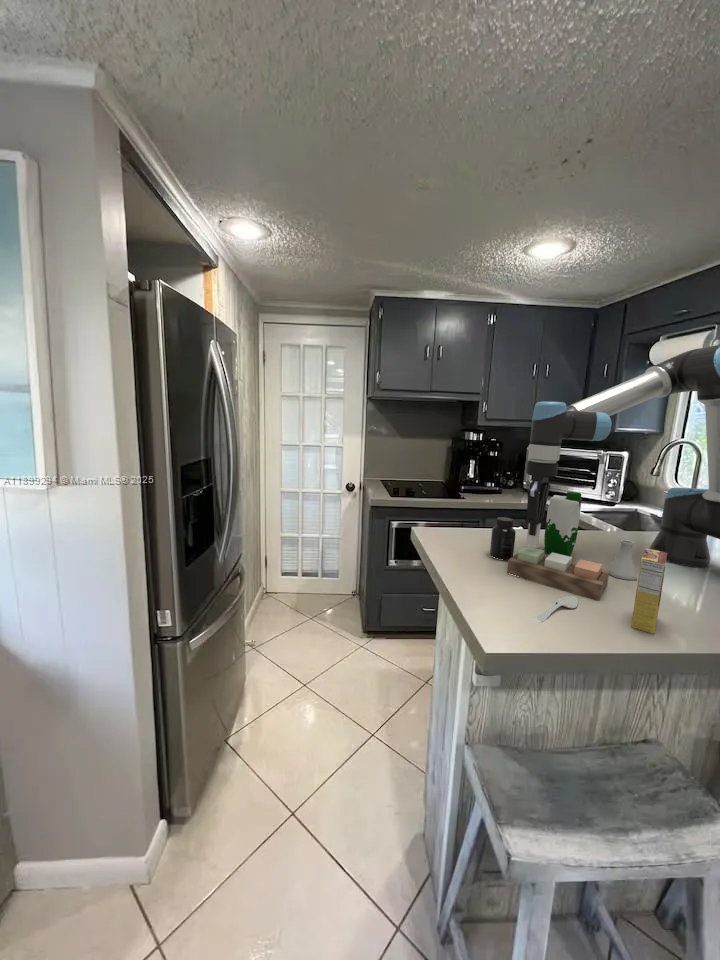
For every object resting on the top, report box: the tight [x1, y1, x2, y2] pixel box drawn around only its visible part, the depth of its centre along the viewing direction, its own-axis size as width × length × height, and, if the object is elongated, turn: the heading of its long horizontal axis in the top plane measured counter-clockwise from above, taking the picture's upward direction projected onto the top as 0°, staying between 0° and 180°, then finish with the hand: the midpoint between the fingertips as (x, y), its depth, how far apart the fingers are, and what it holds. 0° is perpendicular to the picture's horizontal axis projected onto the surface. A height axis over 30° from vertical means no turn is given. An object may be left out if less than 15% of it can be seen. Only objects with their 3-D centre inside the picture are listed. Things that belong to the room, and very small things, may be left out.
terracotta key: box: [574, 559, 603, 581], centre depth 100 cm, size 5×7×4 cm
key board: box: [506, 552, 610, 601], centre depth 105 cm, size 22×12×4 cm, turn 50°
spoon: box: [536, 595, 579, 622], centre depth 87 cm, size 4×21×2 cm, turn 127°
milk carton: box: [543, 491, 582, 557], centre depth 125 cm, size 9×9×20 cm
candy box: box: [630, 548, 667, 635], centre depth 83 cm, size 9×4×15 cm, turn 140°
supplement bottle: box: [489, 516, 517, 561], centre depth 119 cm, size 7×7×12 cm
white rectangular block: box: [544, 552, 573, 572], centre depth 104 cm, size 5×7×4 cm
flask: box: [606, 539, 638, 581], centre depth 109 cm, size 7×7×10 cm
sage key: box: [517, 545, 545, 564], centre depth 109 cm, size 5×7×4 cm
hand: (531, 545), depth 108 cm, fingers closed
